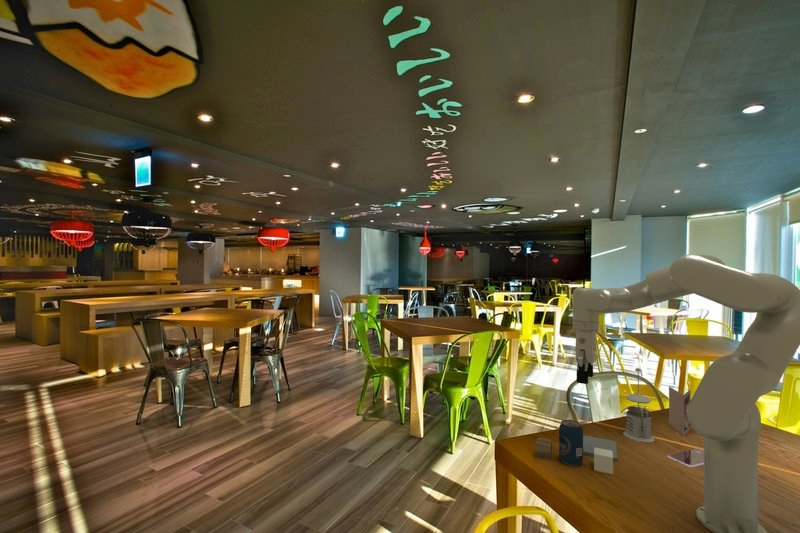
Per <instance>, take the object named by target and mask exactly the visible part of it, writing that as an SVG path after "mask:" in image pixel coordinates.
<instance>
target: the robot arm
mask: <svg viewBox="0 0 800 533" xmlns="http://www.w3.org/2000/svg"><path fill="white" fill-rule="evenodd" d="M693 294H695V295H696V296H699V297H702V298H704V299H706V300H709V301H712V302H714V303H716V304H719V305H722V306H723V307H727V308H729V309H732V310H734V311H737V312H741V313H749V314H750V313H751V314H752V313H754V314H755V313H756V316H755V318H754V320H753V321H752V323H751V324H750V325H749V327H748V328H747V330H746V331H745V333H744V335H743V337H742V339H741V341H740V343H739V344H738V345H737V348H736V349H735V350H734V351H733V352H732V353H730V354H727V355H723V356H720V357H719V358H716V359H715V360H714V361H712V362H711V364H710V365H708V367H707V369H706V371H705V373H704V374H703V376H702V378H701V380H700V382H699V384H698V386H697V387H696V389H695V391H694V393H693V395H691V400H690V402H689V405H688V409H687V416H688V420H689V422H690V424H691V428H692V429H693V430H694V431H695V432H696V433H697V434H698V435H700V436H702V437H703V438H704V439H703V440H704V441H703V451H704V465H703V475H704V476H703V479H704V480H703V481H704V482H703V489H704V490H703V492H704V493H703V494H704V495H703V496H704V500H703V501H704V505H703V506H699V507H698V508H696V514H695V516H696V518H697V520H698V521H699V523H700V524H701V525H702V526H704V527H705V528H706V529H708V530H709V531H711V532H712V533H768V531H767V530H766V529H765V527H764V526H762V525H761V524H760V523H759V520H760V519H759V444H760V443H759V442H760V436H761V435H760V434H761V428H762V417H761V416H762V415H761V412H760V410H759V407H758V406H757V404H756V403H757V402H758V400H759V399H760V397H763V396H766V395H767V394H770V393H771V392H773V391H774V390H776V388H777V386H778V385H779V383H780V381H781V378H782V377H783V375H784V374H785V372H786V371H787V368H788V366H789V365H790V363H791V362H792V360H793V359H794V356H795V354H796V352H797V351H798V349H799V347H800V288H799V287H798V286H796V284H794V283H793V282H791V281H790V280H788V279H787V278H784V277H782V276H781V275H780V276H779V275H776V274H771V273H761V272H759V273H758V272H757V273H755V272H754V273H753V272H749V271H746V270H742V269H739V268H736V267H732V266H729V265H726V263H725V262H724V261H723V260H722V259H720V258H718V257H716V256H713V255H709V254H697V253H692V254H689V253H688V254H684V255H682V256H679V257H678V258H676V259H675V260H674V261H673V262H672V264H670V265H668V266H665V267H662V268H659V269H656V270H653V271H649V272H648V273H647V274H646V276H645V278H644V279H643V280H641V281H639V282H637V283H633V284H630V285H628V286H624V287H618V288H617V287H615V288H614V287H612V288H611V287H610V288H609V287H608V288H593V287H576V288H575V289H574V290H572V331H573V332H575V361H576V363H577V366H576V383H578V384H582V385H583V384H584V385H588V384H589V378H593V377H594V363H595V362H597V358H598V357H597V333H599V331H600V329H599V327H600V326H599V325H600V321H599V320H600V319H599V318H600V316H599V315H600V314H616V313H617V314H618V313H627V312H631V311H635V310H638V309H642V308H646V307H649V306H652V305H656V304H661V303H663V302H667V301H671V300H675V299H677V298H681V297H685V296H688V295H689V296H690V295H693Z"/></svg>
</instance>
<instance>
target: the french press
mask: <svg viewBox="0 0 800 533" xmlns="http://www.w3.org/2000/svg"><path fill="white" fill-rule="evenodd" d="M634 370H635V372H637V393H630V394H628V395H626V396H625V399H626V400H628V401H629V402H633V403H637V406H633V405H632V406H628V407H626V409H627V410H626V413H625V416H626V418H625V420H626V425H625V426H626V430H625V431H623V436H625V437H626V438H628V439H630V440H632V439H633V441H636V442H640V441H642V442H643V443H653V442H654V441H655V440H656V439H655V438H654V437H653V435H652V414H650V413H651V411H650V410H649V409H647V407H646V406H644V407H641V405H640V404H646V405H647V404H650V403H652V399H650V398H649V397H648V396H647V395H643V394H640V385H639V384H640V383H639V382H640V378H639V377H640V376H639V374H640V373H641V372H642V369H641V368H639V367H635V369H634Z"/></svg>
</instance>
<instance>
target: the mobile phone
mask: <svg viewBox="0 0 800 533" xmlns="http://www.w3.org/2000/svg"><path fill="white" fill-rule="evenodd" d="M667 458H668V459H671V460H673V461H675V462H678V463H679V464H682V465H684V466H686V467H688V468H695V467H698V466H704V450H701V449H699V448H694V449H690V450H684V451H680V452H676V453H672V454H668V455H667Z"/></svg>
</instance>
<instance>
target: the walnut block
mask: <svg viewBox="0 0 800 533" xmlns="http://www.w3.org/2000/svg"><path fill="white" fill-rule="evenodd" d="M552 456H553V440H550V439H547V438H546V439H545V438H540V437H537V439H536V441H535V457H536V458H539V459H544V460H547V461H551V460H552Z"/></svg>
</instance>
